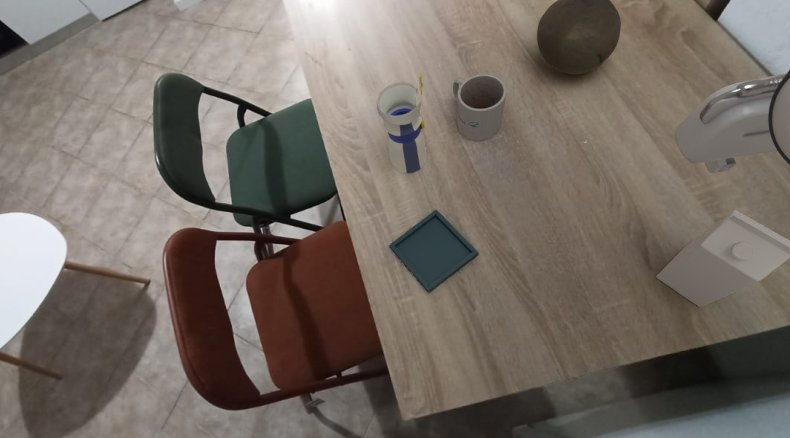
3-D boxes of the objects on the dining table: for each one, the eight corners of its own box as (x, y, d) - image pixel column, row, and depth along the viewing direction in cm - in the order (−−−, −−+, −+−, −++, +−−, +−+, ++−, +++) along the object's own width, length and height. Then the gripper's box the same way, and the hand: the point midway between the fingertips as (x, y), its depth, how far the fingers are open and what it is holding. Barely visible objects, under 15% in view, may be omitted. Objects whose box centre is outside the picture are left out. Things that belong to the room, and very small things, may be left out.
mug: (509, 129, 89) (515, 98, 81) (469, 147, 90) (470, 118, 81) (480, 88, 95) (482, 55, 86) (442, 105, 96) (441, 73, 87)
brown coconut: (607, 36, 92) (632, -28, 79) (606, 90, 87) (633, 31, 74) (532, 38, 97) (545, -22, 84) (528, 89, 92) (540, 34, 79)
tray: (478, 255, 81) (478, 252, 79) (428, 293, 81) (428, 291, 79) (436, 212, 86) (436, 209, 85) (389, 247, 86) (388, 245, 85)
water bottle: (421, 134, 95) (412, 48, 73) (434, 166, 91) (428, 85, 69) (384, 147, 96) (364, 66, 74) (395, 179, 92) (378, 103, 70)
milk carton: (683, 247, 72) (752, 196, 55) (730, 277, 69) (818, 231, 52) (654, 277, 72) (715, 234, 55) (700, 308, 68) (779, 272, 51)
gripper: (738, 121, 33) (662, 201, 45) (1115, 58, 28) (917, 167, 40) (704, 59, 36) (641, 150, 48) (1042, -8, 31) (877, 112, 43)
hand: (769, 158), depth 44 cm, fingers open, 8 cm apart
